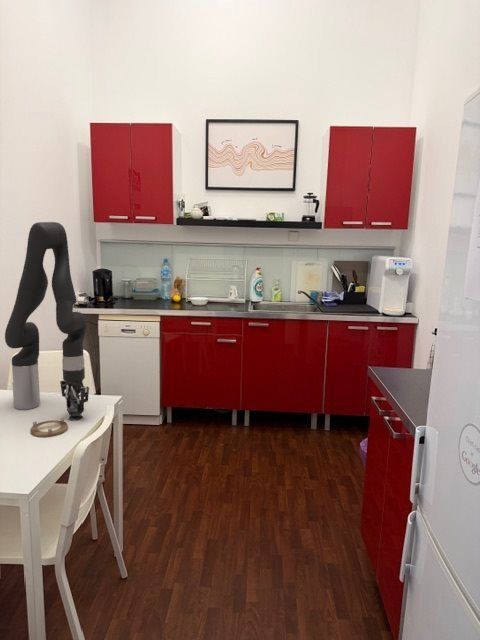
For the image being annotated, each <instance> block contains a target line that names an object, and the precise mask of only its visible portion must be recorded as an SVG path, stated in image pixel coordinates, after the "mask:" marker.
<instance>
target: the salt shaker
mask: <svg viewBox="0 0 480 640" xmlns="http://www.w3.org/2000/svg"><path fill="white" fill-rule="evenodd" d="M70 393H71V398H70V401H71V406H70V407H69V408H68V409H67V408H66V411H67V413H68V415H69V416H68V419H67V420H68V421H71V422H72V421H73V422H74V421H75V422H76V421H79V420H83V418H84V416H83V415H82V414H83V412H82V413H78V410H77V404H78V403H77V399H76V398H75V397H74V394H73V392H72V391H71V392H70ZM77 395H80V393H79V394H77ZM79 399H80V400H81V397H79Z"/></svg>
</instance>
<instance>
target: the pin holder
mask: <svg viewBox="0 0 480 640" xmlns="http://www.w3.org/2000/svg"><path fill="white" fill-rule="evenodd" d="M68 429H69V426H68V423H67V422H66V421H65V418H64V417H61V418H60V420H57V419H55V420H45V421H40V422H38V423H37V421H33V422H32V426H31V428H30V435H32V436H33V437H36V438H52V437H56V436H60V435H62V434H65V432H66V431H68Z"/></svg>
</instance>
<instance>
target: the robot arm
mask: <svg viewBox="0 0 480 640" xmlns="http://www.w3.org/2000/svg"><path fill="white" fill-rule="evenodd" d="M26 246H27V247H26V253H25V259H24V265H23V269H22V273H21V277H20V280H19V283H18V288H17V293H16V298H15V301H14V305H13V308H12V312H11V315H10V316H9V319H8V321H7V325H6V328H5V331H4V341H5V344H6V346H7V347H8V348H10V349H20V350H19V352H17V353H16V354H15V355H13V356H12V357H11V370H12V371H11V372H12V382H11V383H12V394H13V395H12V396H13V397H12V398H13V406H14V409H16V410H31V409H35V408H38V407H39V406H40V405H41V397H40V396H41V395H40V393H41V392H40V377H39V376H40V375H39V374H40V373H39V356H40V331H39V328H38V326H37V325H36V324H35V323H34V322H32V321H28V319H29V317H30V316H31V315H32V314H33V313H34V312H35V311H36V310H37V309H38V307H39V306H40V305H41V304H42V302H43V301H44V300H45V296H46V293H47V289H48V285H49V279H48V276H47V273H46V270H45V268H44V259H45V255H46V252H47V250H52V253H53V257H54V268H53V272H52V276H51V289H52V292H53V293H52V294H53V296H54V297H53V298H54V301H55V322H56V326H57V328H58V330H59V331H60V332H61V333H63V334H65V335H67V337H66V338H65V339H64V340H63V341H62V347H61V348H62V363H61V364H62V379H63V380H60V382H59V383H60V391H61V397H64V398H65V400H66V401H65V402H66V405H65V406H66V410H67V409H68V408H69V407H70V406H71V401H70V398H71V393H70V392H71V391H72V392H73V394H74V397H75V398H76V399H77V403H78V404H77V410H78V413H82V414H83V413H84V411H85V406H84V405H85V403H88V401H89V393H90V392H89V391H90V388H89V386H85V385H84V382H83V381H84V380H85V379H86V374H85V373H86V371H85V356H84V339H85V335H86V332H87V331H86V329H87V321H86V320H87V319H86V317H85V316H84V314H83V313H82V312H80V311H73V307H74V305H75V304H76V303H77V296H76V293H75V288H74V283H73V280H72V275H71V266H70V255H69V244H68V236H67V232H66V229H65V227H64V226H63V224H61V223H59V222H56V221H42V222H40V221H39V222H35V223H33V224H32V225H31V227H30V229H29V232H28V237H27V245H26ZM77 394H79V395H77ZM79 398H80V399H79Z"/></svg>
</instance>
